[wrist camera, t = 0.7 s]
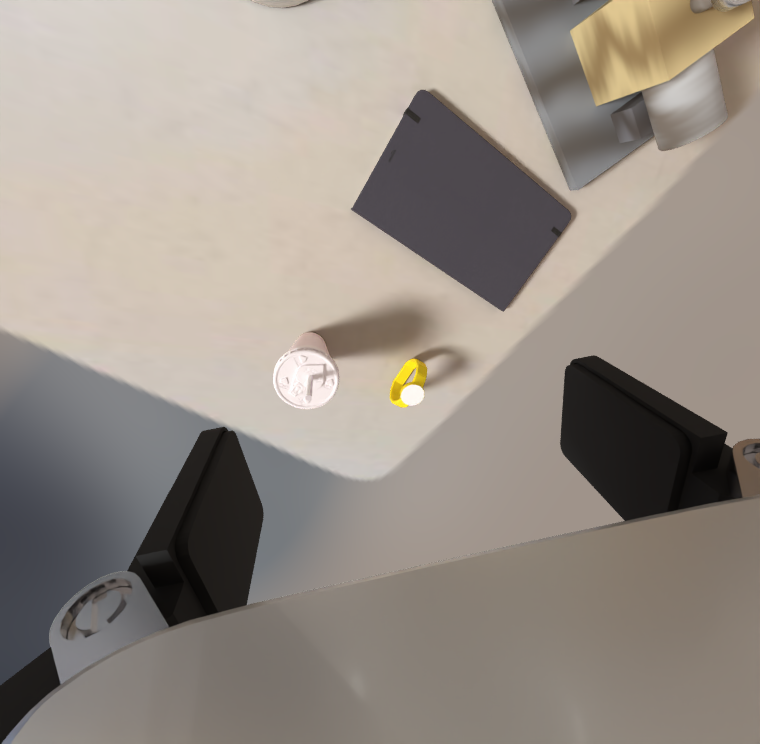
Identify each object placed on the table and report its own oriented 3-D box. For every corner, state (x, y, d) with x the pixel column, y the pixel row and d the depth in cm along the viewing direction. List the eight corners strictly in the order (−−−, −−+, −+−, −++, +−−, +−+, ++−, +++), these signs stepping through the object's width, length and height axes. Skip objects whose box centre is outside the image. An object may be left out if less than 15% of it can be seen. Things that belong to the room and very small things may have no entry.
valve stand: (492, 0, 35) (571, -97, 24) (652, -131, 33) (823, -306, 22) (570, 190, 43) (658, 185, 31) (704, 94, 40) (852, 51, 29)
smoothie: (348, 346, 47) (356, 400, 34) (311, 381, 48) (306, 446, 35) (308, 309, 44) (301, 353, 32) (271, 347, 45) (249, 403, 33)
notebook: (350, 209, 41) (498, 308, 48) (351, 209, 40) (503, 312, 46) (416, 89, 38) (566, 215, 44) (420, 84, 36) (574, 215, 43)
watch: (400, 394, 51) (407, 420, 45) (382, 385, 50) (387, 411, 44) (426, 359, 48) (437, 381, 43) (408, 348, 48) (417, 370, 42)
